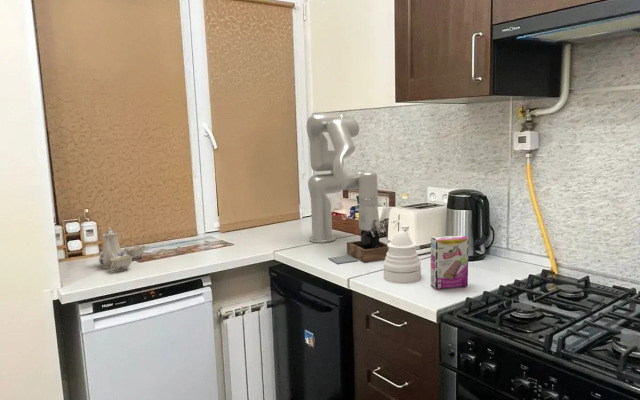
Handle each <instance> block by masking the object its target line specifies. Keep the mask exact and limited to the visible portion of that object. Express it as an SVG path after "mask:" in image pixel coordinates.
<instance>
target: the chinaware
mask: <svg viewBox="0 0 640 400" xmlns="http://www.w3.org/2000/svg"><path fill="white" fill-rule="evenodd" d="M119 234H120V232H116V231H115V230H113V229H112V228H111V227H108V229H107V230H106V231H105V233H102V234H101V236H102V238H103V249H102V251H101V254H100V255H99V258H98V262H99V263H100V265H101V266H102V268H103V269H111V271H117V272H127V270H128V268H129V267H130V266H131V264H132V261H138V260H140V259H141V257H142V256H143V255H144V251H145V248H146V246H145V245H141V246H140V245H139V244H137V245H132V246H126V247H124V251H125V252H126V253H124V252H123V250H122V248H121V246H120V243H119Z"/></svg>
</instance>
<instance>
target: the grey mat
mask: <svg viewBox="0 0 640 400" xmlns="http://www.w3.org/2000/svg"><path fill="white" fill-rule="evenodd" d="M328 260H329V261H331V262H332V263H335V264H337V265H342V264H343V265H344V264H348V263H356V262H359V260H358V259H356V258H354V257H352V256H350V255H348V254H346V255H341V256H340V255H339V256H332V257H328Z"/></svg>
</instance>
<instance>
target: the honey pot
mask: <svg viewBox="0 0 640 400" xmlns="http://www.w3.org/2000/svg"><path fill="white" fill-rule="evenodd" d="M401 229H402V230H398V231H397V232H396V233H395V235H394V236H393V238H392V240H391V241H389V242H388V243H386V244H387V246H388V248H389V249H388V252H387V254H386V255H387V256H386V258H385V260H383V279H384V280H385V281H386V282H390V283H394V284H395V283H396V284H411V283H415V282H418V281H420V280H421V278H422V268H421V267H422V266H421V261H420V257H419V255H418V252H417V249H416V247H417V244H416V243H415V242H413V241H412V239H411V237H410V236H409V234H408V233H407V231H408V230H409V229H410V226H409V225H408V224H407V225H401Z"/></svg>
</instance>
